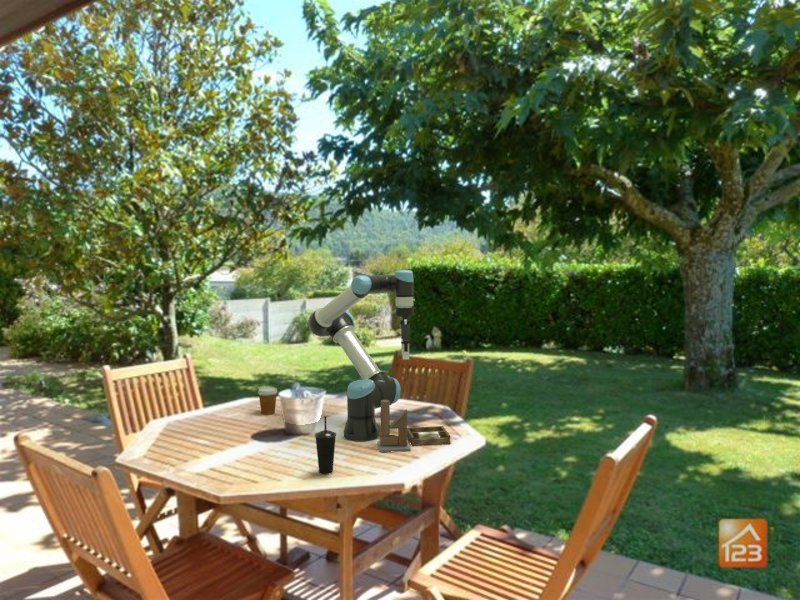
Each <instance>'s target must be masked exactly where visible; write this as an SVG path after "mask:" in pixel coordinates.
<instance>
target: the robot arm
mask: <svg viewBox="0 0 800 600" xmlns="http://www.w3.org/2000/svg"><path fill="white" fill-rule="evenodd" d="M414 282H415V281H414V272H413V271H412V270H408V269H407V270H406V269H405V270H396V271H395V274H394V275H393V274H379V275H378V274H377V275H376V274H375V275H364V274H363V275H357V276H355V277H353V278H352V281H351V282H350V285H349V286H348V287H347V288H346V289H345V290H343V291H342V292H341V293H340V294H338V295H337V296H336V297H334V298H333V299H332V300H331V301H330V302H328V303H327V304H326V305H324V306H323V307H319V308H317V309H316V310H314V311H313V312H312V313H311V315H310V316H309V318H308V322H307V323H308V324H307V325H308V328H309V331H310V332H311V333H312V334H313V335H314V336H317V337H330V338H331V340H332V341H333V342H334V343H336V344H339V346H340V347H341V350H342V351H343V352H344V353H345V355H346V356H347V358H348V359H349V361H350V362H351V364H352V365H353V367H354V368H355V370H356V371H357V373H358V374H359V376H360V377H361V378H362V379H357V380H354V381H352V382H349V384H348V386H347V392H346V399H347V401H346V402H347V403H346V404H347V405H346V406H347V411H346V413H347V417H346V418H347V419H346V422H345V426H344V429H343V438H344V439H346V440H347V441H353V442H366V441H367V442H368V441H373V440H375V439H378V438H380V430H379V427H378V424H377V421H376V413H375V412H376V409H379V408H380V409H381V400H389V401H390V406H391V405H393V404H395V403H397V402H398V401H399V399H400V397H401V391H402V388H401V384H400V382H399V381H398V379H396V378H395V377H392V376H390V377H389V376H388V374H387V372H386V371H384V370H380V368H379V367H378V365H377V363H375V361H374V359H373V358H372V357H371V356H370V354H369V351H367V349H366V348H365V347H364V345H363V343H362V342H361V341H360V339H359V338H358V337H357V335H356V333H355V324H356V323H355V319H354V317H353V315H352V314H351V313H350V312H349V311H348V310H350V309H352V307H353V306H355V305H356V304H358V303H359V302H360V301H361V300H363V299H364V298H366V297H367V296H368V295H370V294H383V293H394V294H395V306H396V308H395V315H396V316H395V317H400V319H401V320H400V321H399V325H400V331H401V333H400V334H401V335H400V337H401V338H400V339H401V341H400V344H401V346H400V347H401V350H400V351H401V355H402V360H410V335H409V334H410V333H409V332H410V324H411V321H410V320H409V319H408V318H409V317H413V316H414V314H415V313H414V309H415V308H414V302H415V301H416V300H415V298H414Z"/></svg>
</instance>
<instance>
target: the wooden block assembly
mask: <svg viewBox="0 0 800 600" xmlns="http://www.w3.org/2000/svg"><path fill="white" fill-rule="evenodd" d="M390 407H391V405H390V401H389V400H381V407H380V434H379V441H380V446H407V443H408V438H407V428H408V409H407V408H406V409H405V410H404V411H403V412H402V413H401V414H400V415H399V416H397V417H396V419H395V420H394V421H393V422H392V423H391V424H390V421H391V420H390V417H391V416H390V415H391V413H390V411H391V408H390ZM390 429H397V435H396V434H390V433H391V432H390V431H391V430H390Z"/></svg>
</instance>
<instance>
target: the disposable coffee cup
mask: <svg viewBox="0 0 800 600" xmlns="http://www.w3.org/2000/svg"><path fill="white" fill-rule="evenodd" d="M257 394H258V397H259V398H258V399H259V406H260V413H261V415H264V416H270V415H275V413H276V405H277V397H278V396H277V395H278V388H277V387H272V386H271V387H270V386H269V387H268V386H267V387H262V388H259V389H258V391H257Z"/></svg>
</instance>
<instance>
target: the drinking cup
mask: <svg viewBox="0 0 800 600" xmlns="http://www.w3.org/2000/svg"><path fill="white" fill-rule="evenodd" d="M323 422H324V430H320V431H317V432H315V433H314V438H315V444H316V445H315V447H316V455H317V463H318V464H317V465H318V472H319V474H320V473H321V474H320V475H330V474H332V473H333V472H334V461H335V449H336V436H337V432H335V431H333V430H330V429H327V415H326V416H325V415H324V419H323ZM329 473H330V474H329Z"/></svg>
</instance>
